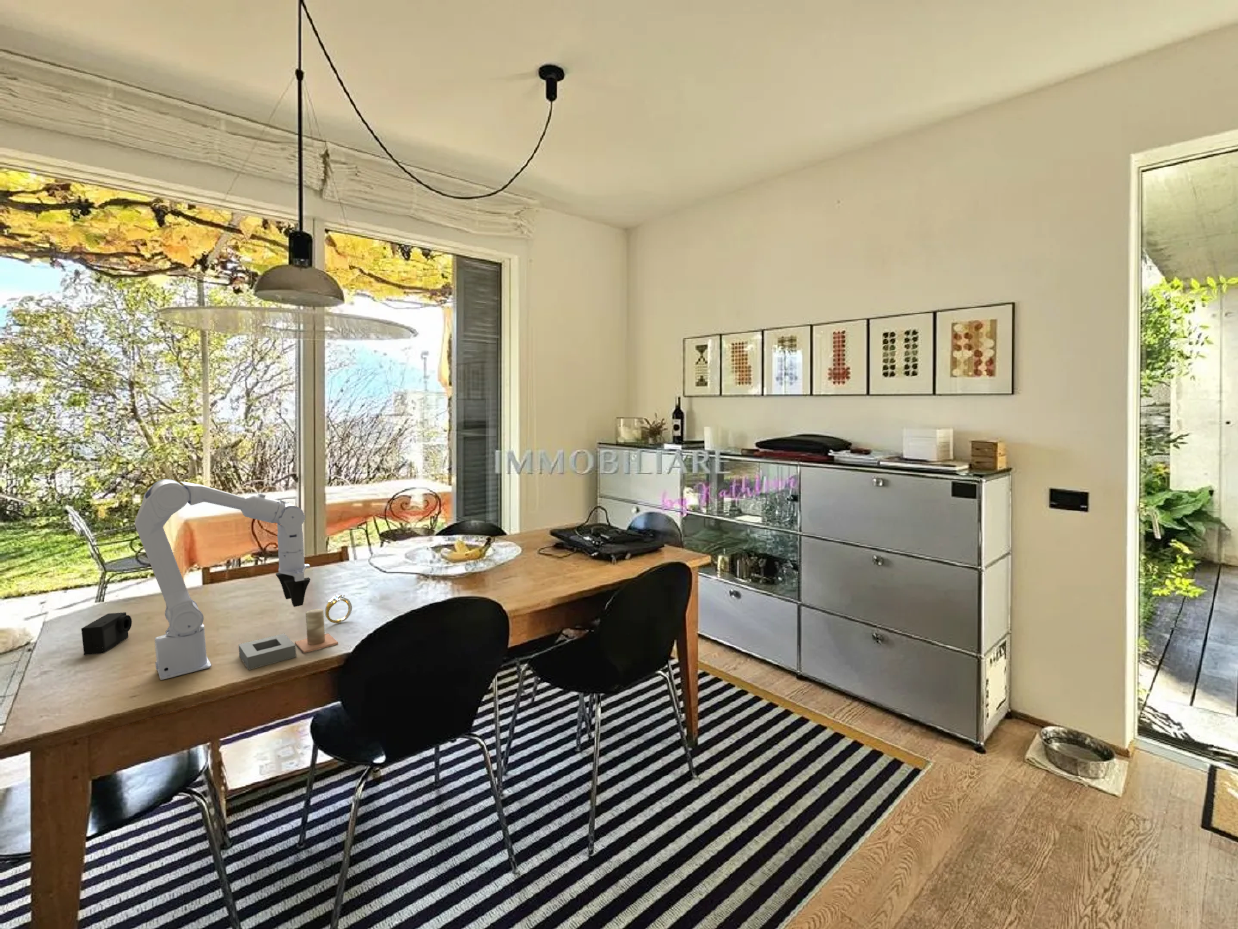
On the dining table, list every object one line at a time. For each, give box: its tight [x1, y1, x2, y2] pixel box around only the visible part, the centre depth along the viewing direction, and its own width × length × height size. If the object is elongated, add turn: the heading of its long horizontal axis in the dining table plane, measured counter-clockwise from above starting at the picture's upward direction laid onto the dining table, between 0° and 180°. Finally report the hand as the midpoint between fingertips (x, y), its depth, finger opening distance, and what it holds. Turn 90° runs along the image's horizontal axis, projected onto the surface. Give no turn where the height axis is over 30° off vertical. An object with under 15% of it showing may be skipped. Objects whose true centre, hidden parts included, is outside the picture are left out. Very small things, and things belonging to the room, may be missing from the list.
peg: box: [305, 608, 326, 645], centre depth 149 cm, size 4×4×8 cm
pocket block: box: [238, 632, 297, 671], centre depth 142 cm, size 10×10×3 cm
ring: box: [324, 594, 353, 625], centre depth 163 cm, size 7×3×8 cm, turn 132°
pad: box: [294, 632, 339, 654], centre depth 150 cm, size 8×8×1 cm
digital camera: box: [81, 612, 133, 656], centre depth 149 cm, size 10×5×7 cm, turn 13°
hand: (294, 602), depth 151 cm, fingers open, 7 cm apart
